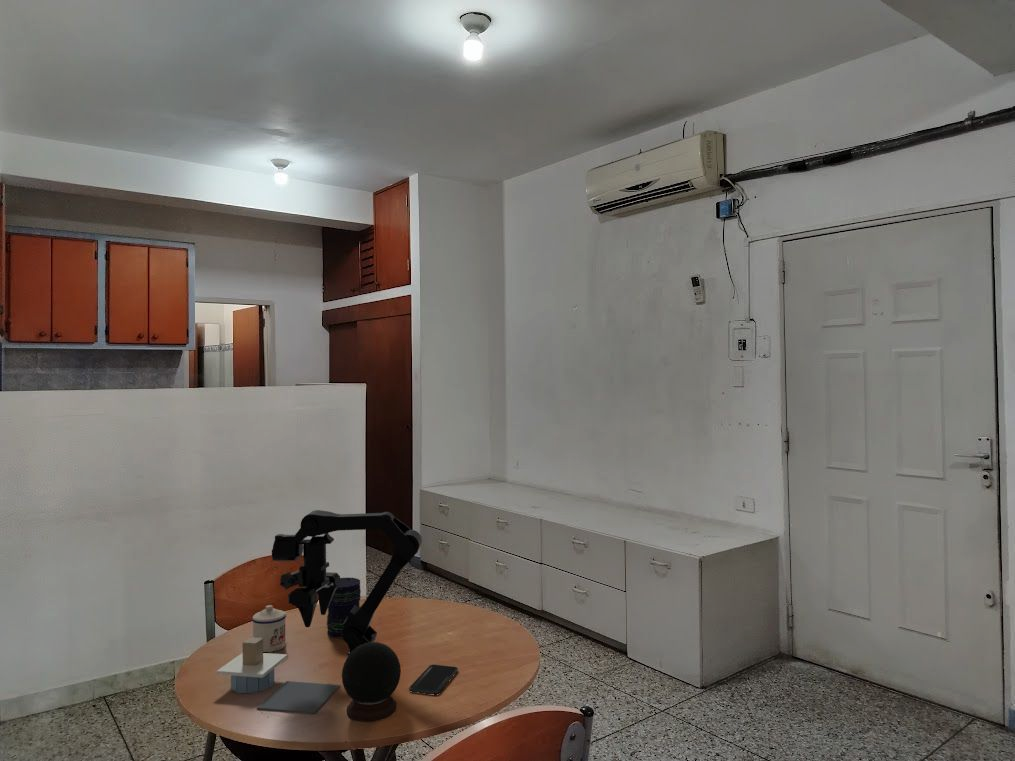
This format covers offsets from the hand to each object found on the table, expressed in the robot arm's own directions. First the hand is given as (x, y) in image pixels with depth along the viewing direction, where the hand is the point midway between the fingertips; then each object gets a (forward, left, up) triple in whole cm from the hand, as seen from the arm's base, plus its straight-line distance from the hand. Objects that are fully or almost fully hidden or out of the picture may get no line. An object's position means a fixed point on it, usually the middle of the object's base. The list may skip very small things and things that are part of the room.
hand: (315, 620), depth 177 cm
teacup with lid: (+20, -14, -13) cm, 28 cm away
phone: (-32, +1, -14) cm, 35 cm away
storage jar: (+4, -27, -13) cm, 30 cm away
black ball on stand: (-22, +18, -13) cm, 31 cm away
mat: (-3, +15, -13) cm, 20 cm away
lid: (+12, +10, -8) cm, 18 cm away
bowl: (+12, +10, -13) cm, 20 cm away
